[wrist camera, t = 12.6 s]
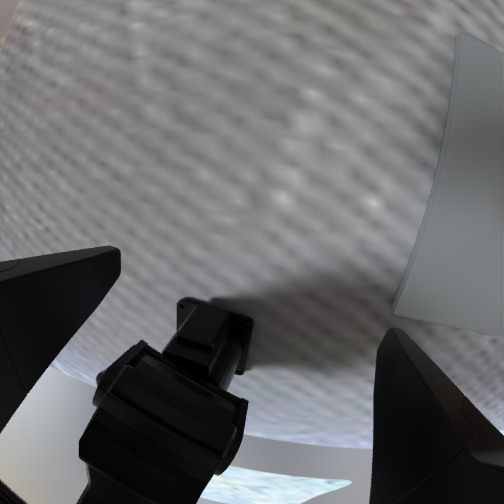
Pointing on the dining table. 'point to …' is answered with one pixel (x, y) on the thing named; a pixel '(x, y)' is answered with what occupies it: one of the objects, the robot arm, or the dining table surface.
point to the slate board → (464, 206)
